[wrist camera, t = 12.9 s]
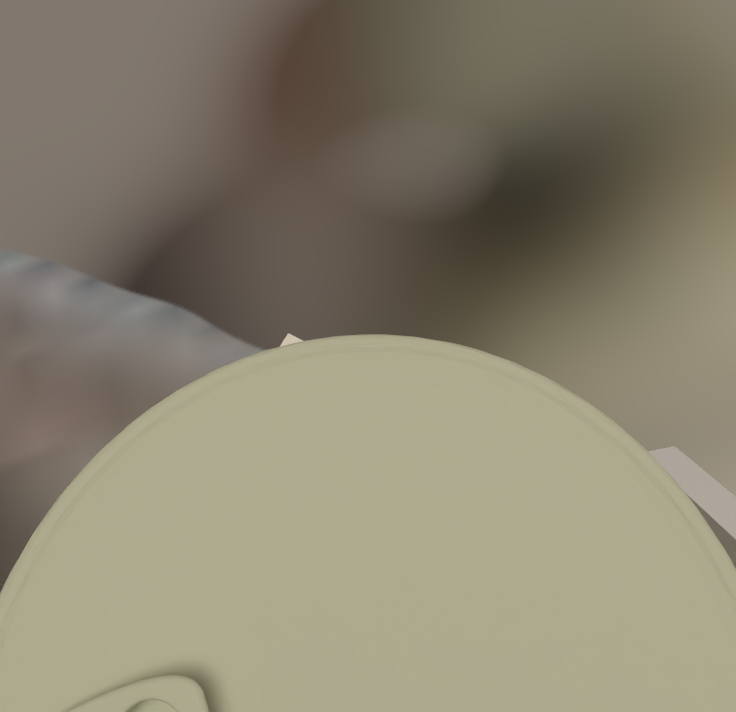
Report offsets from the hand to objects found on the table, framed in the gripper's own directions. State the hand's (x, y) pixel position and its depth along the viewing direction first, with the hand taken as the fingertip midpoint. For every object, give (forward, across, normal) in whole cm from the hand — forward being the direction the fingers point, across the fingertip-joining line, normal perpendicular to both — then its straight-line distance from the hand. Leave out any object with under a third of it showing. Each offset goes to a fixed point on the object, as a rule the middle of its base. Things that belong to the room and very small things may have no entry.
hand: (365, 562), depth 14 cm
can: (+2, 0, -5) cm, 5 cm away
